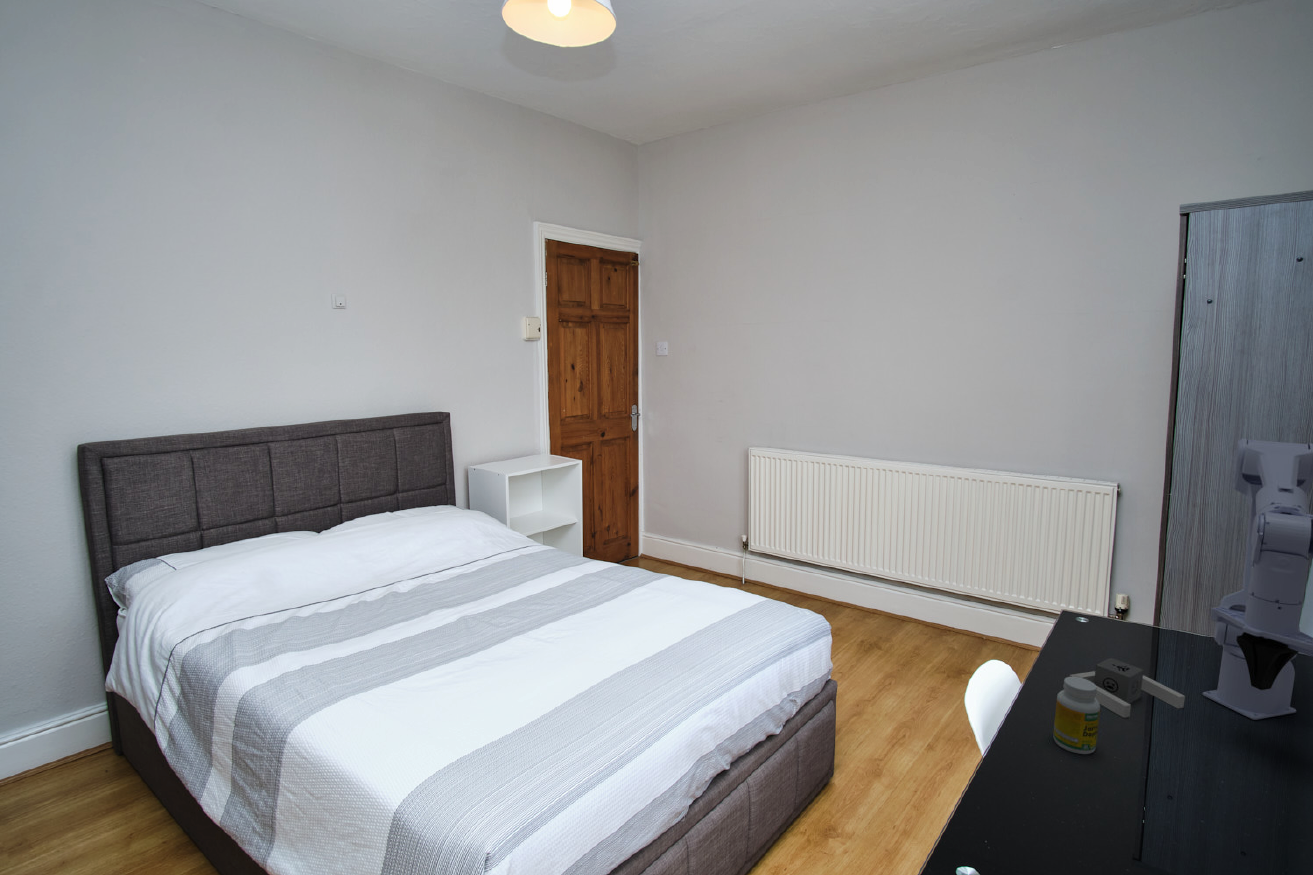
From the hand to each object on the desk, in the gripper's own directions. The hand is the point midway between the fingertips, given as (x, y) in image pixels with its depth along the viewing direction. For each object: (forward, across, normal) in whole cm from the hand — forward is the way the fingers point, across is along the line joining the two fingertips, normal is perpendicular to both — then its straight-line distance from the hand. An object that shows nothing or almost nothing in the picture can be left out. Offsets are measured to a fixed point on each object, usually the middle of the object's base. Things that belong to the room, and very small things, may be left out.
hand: (1260, 687), depth 98 cm
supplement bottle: (+10, -7, -25) cm, 28 cm away
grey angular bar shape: (+9, -15, -5) cm, 19 cm away
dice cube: (+10, -17, -6) cm, 20 cm away
